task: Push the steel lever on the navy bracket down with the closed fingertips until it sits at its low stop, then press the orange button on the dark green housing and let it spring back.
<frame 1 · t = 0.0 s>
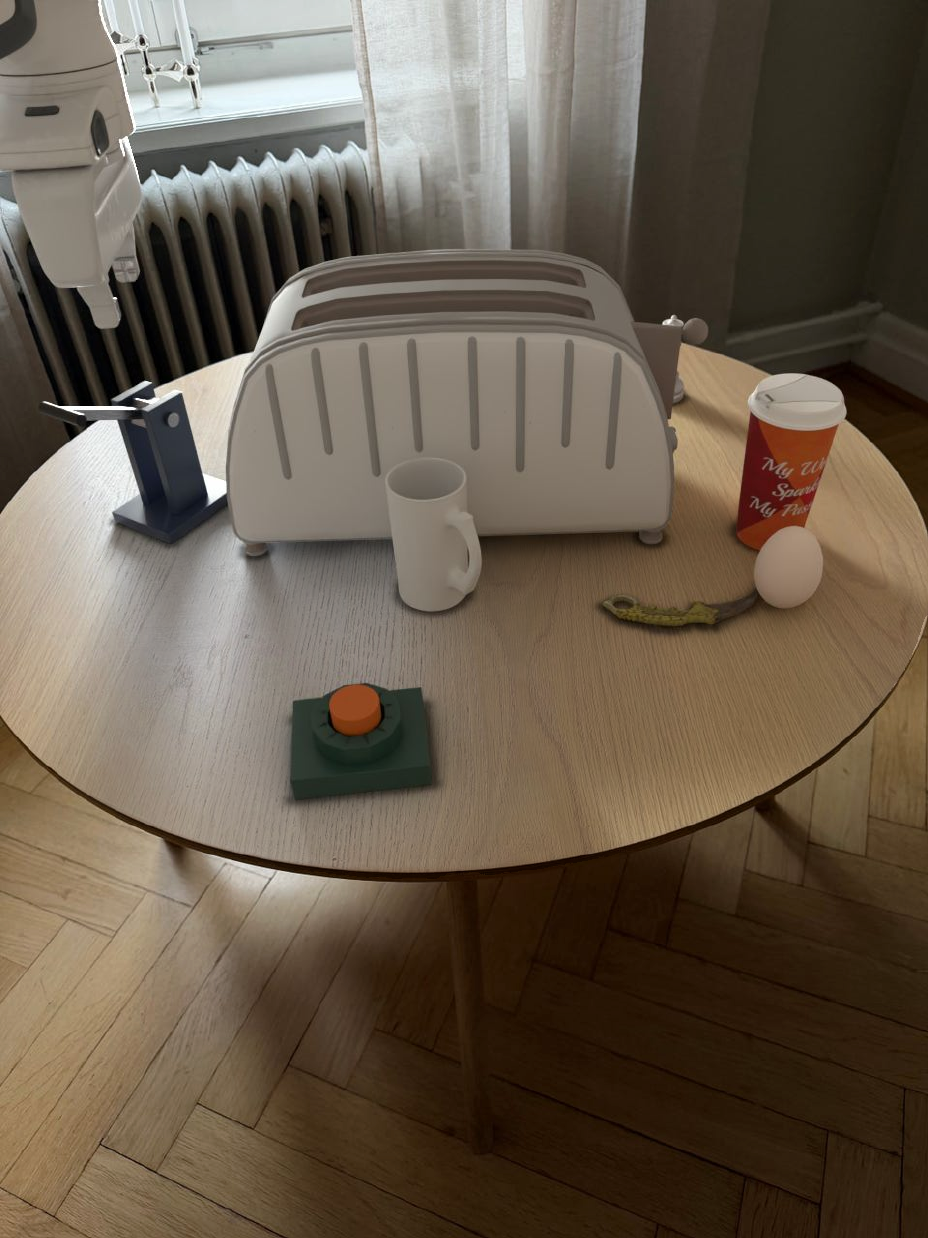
hand: (120, 300, 74), 25 cm above the table, tool pointing down, fingers open, 8 cm apart
bracket: (178, 508, 96), on the table
button box: (361, 750, 70), on the table
coffee cup: (767, 535, 89), on the table
toaster: (467, 499, 96), on the table
chess piece: (664, 397, 111), on the table
lever: (112, 413, 85), point 13 cm above the table, hinge at 25.0°
egg: (779, 604, 81), on the table
mug: (444, 600, 83), on the table
knife: (687, 611, 81), on the table
button: (355, 710, 67), point 4 cm above the table, slide at 0.1 cm
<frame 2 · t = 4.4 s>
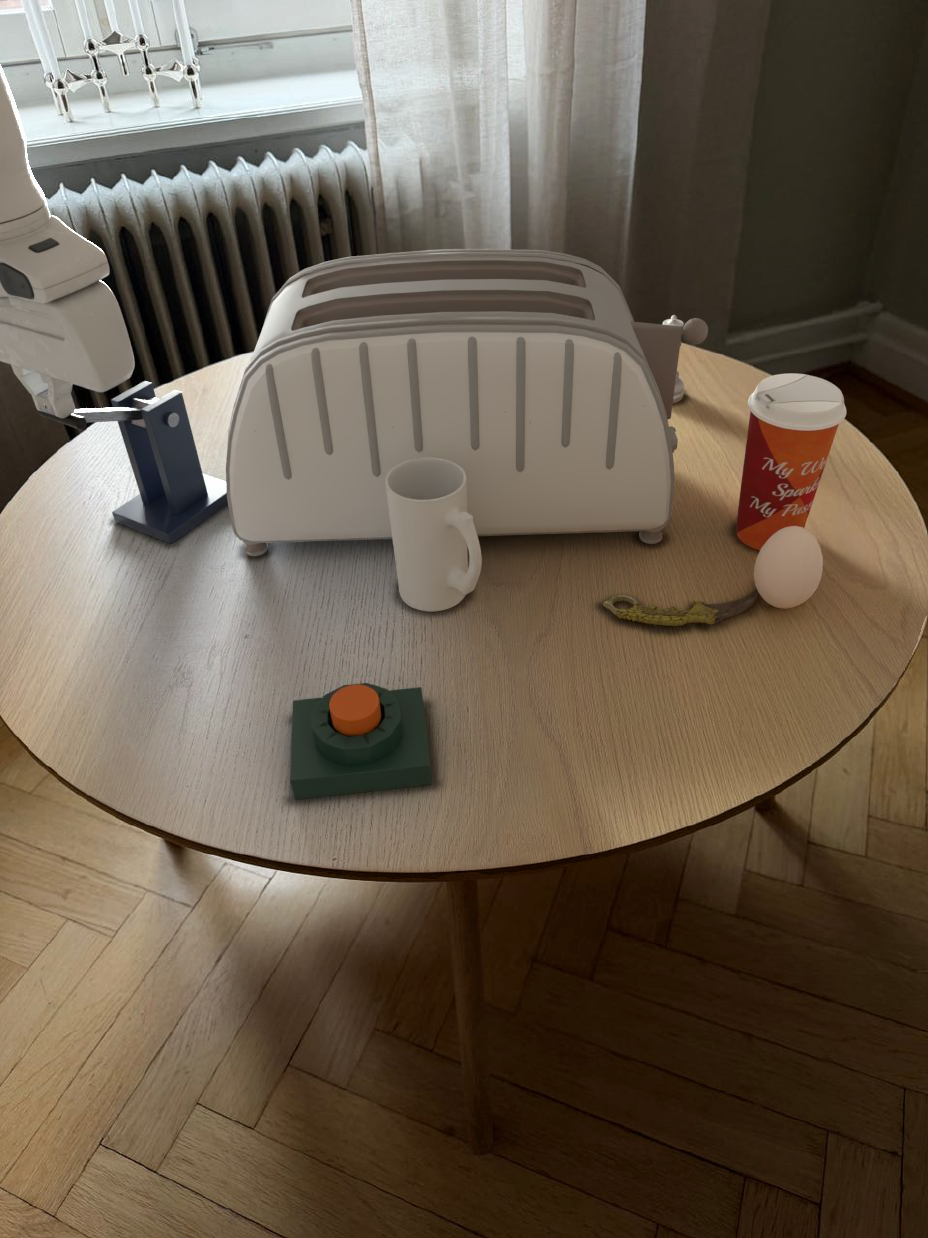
hand: (57, 412, 80), 16 cm above the table, tool pointing down, fingers closed
lever: (112, 414, 85), point 13 cm above the table, hinge at 23.5°, touching gripper
everything else where it was.
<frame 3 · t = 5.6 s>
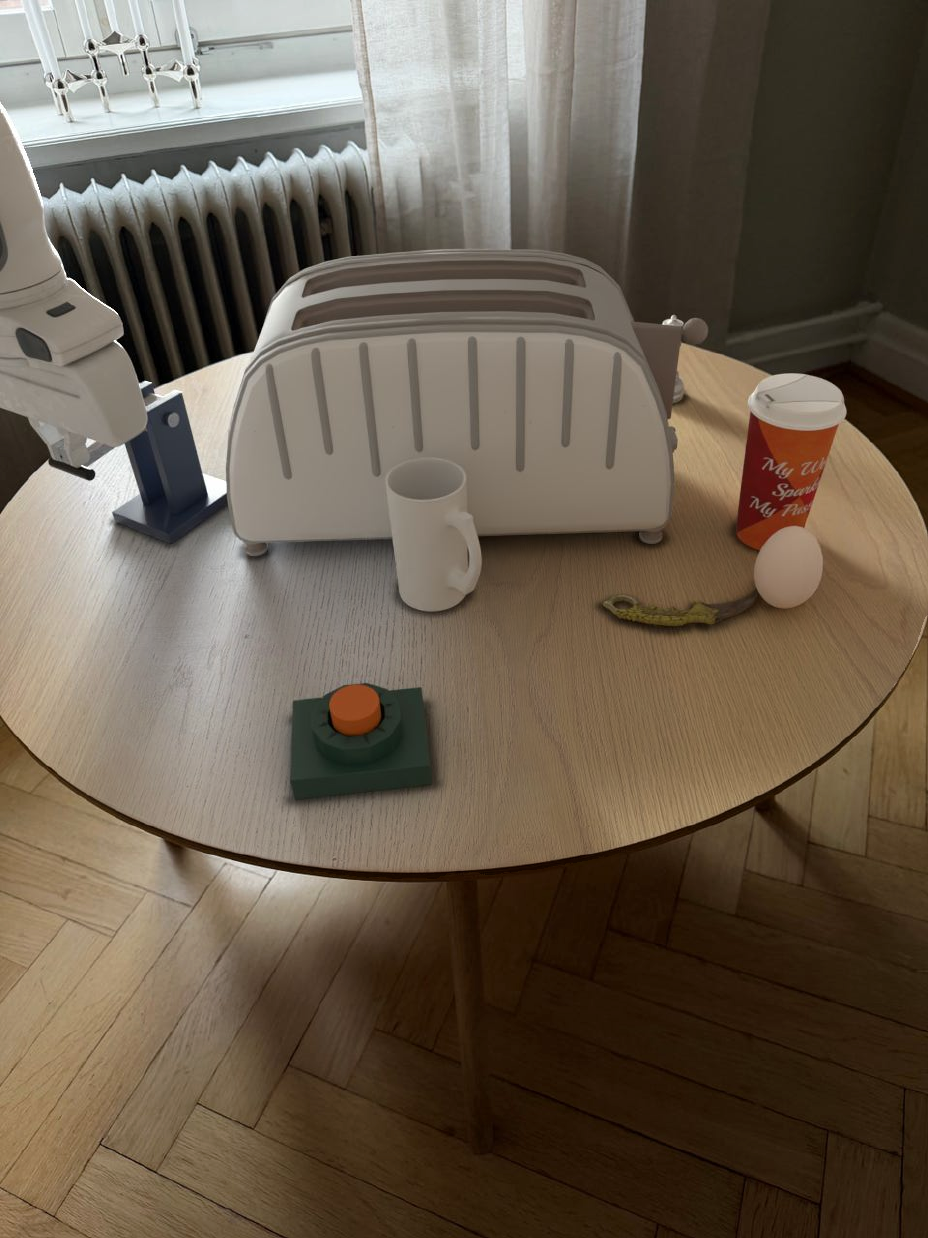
hand: (72, 460, 82), 11 cm above the table, tool pointing down, fingers closed, pressing on lever
lever: (116, 437, 86), point 11 cm above the table, hinge at -4.2°, touching gripper
everything else where it was.
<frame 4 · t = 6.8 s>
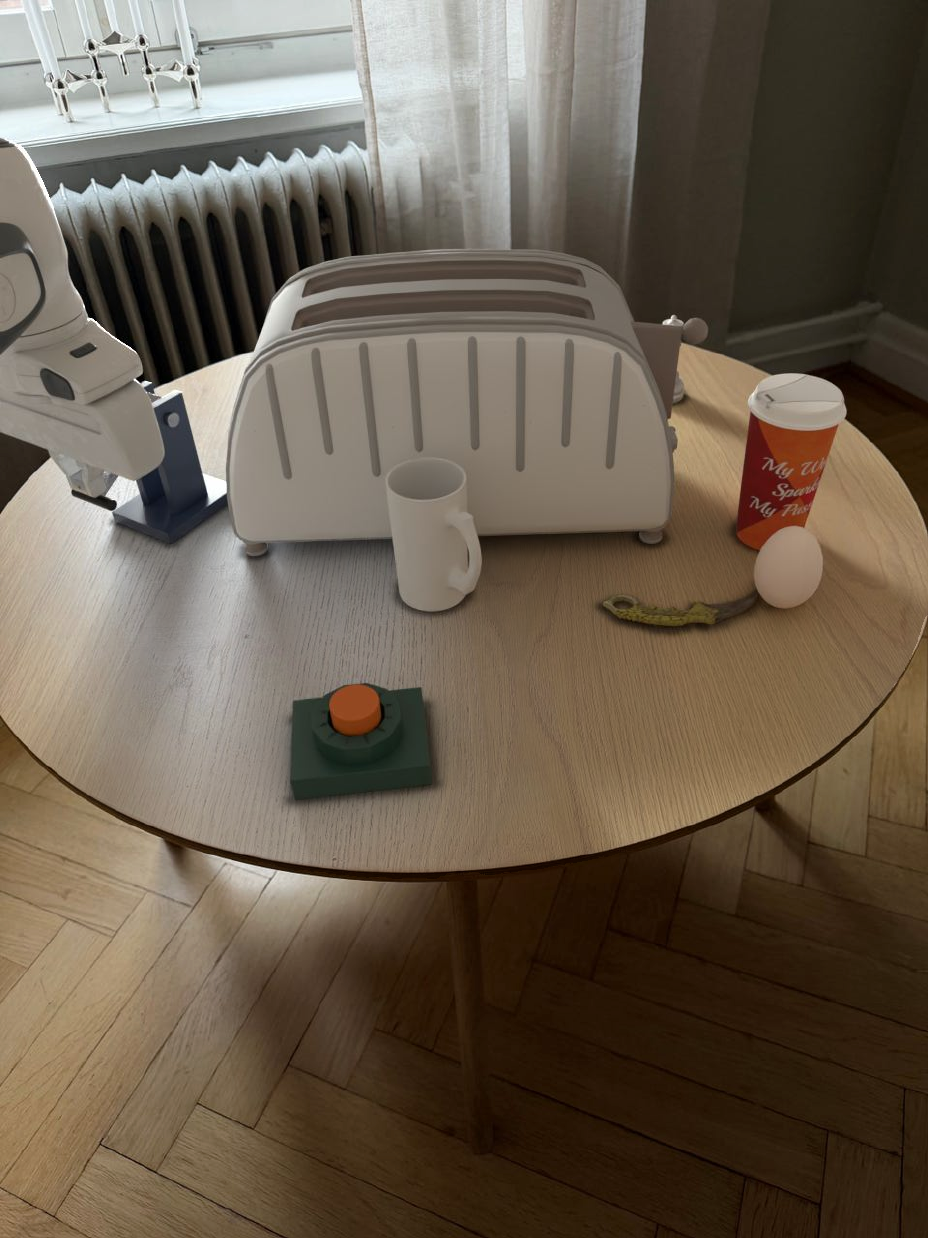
hand: (89, 490, 85), 7 cm above the table, tool pointing down, fingers closed, pressing on lever
lever: (125, 451, 87), point 9 cm above the table, hinge at -27.4°, touching gripper
everything else where it was.
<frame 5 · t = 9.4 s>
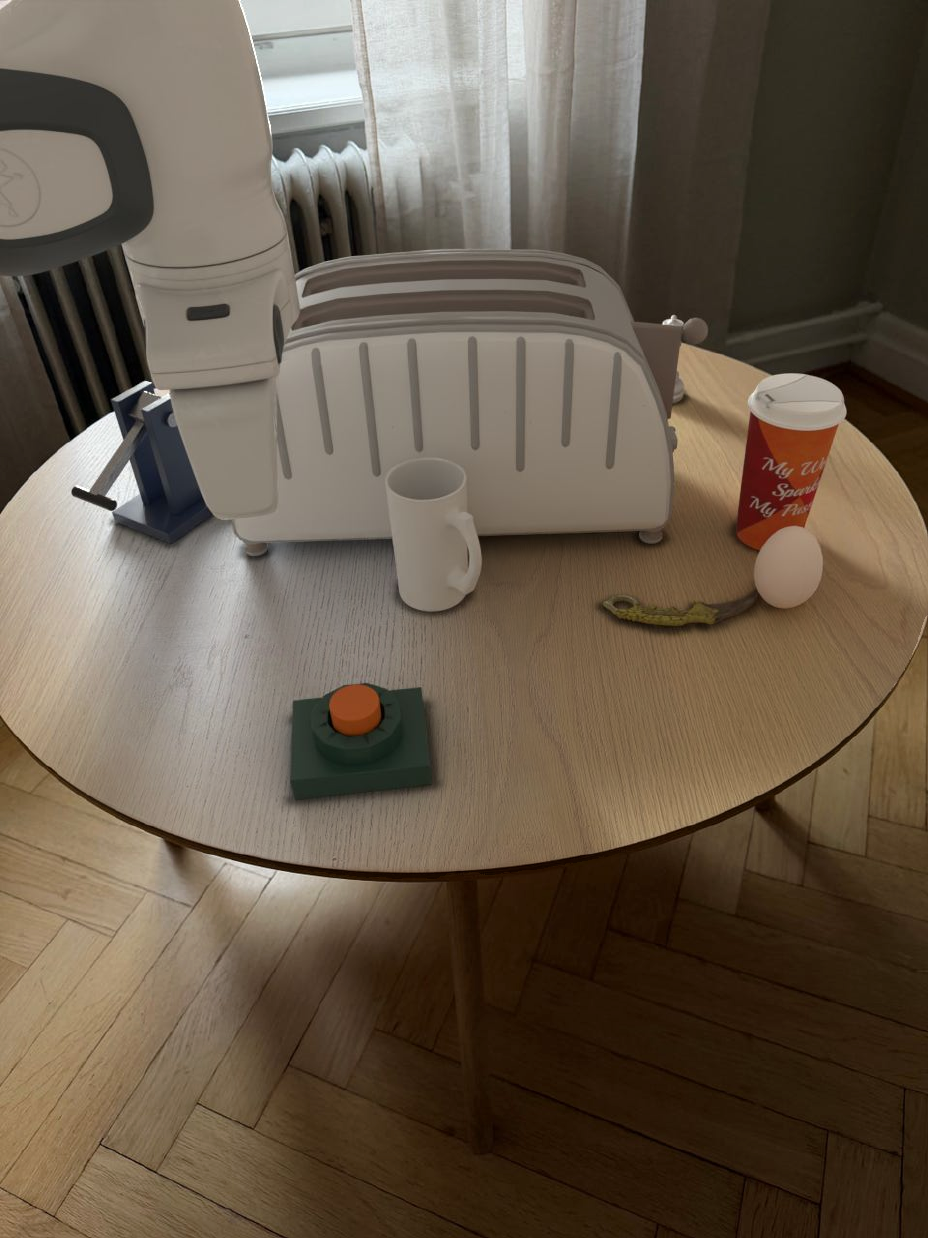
hand: (263, 497, 61), 20 cm above the table, tool pointing down, fingers closed
lever: (125, 451, 87), point 9 cm above the table, hinge at -27.5°
everything else where it was.
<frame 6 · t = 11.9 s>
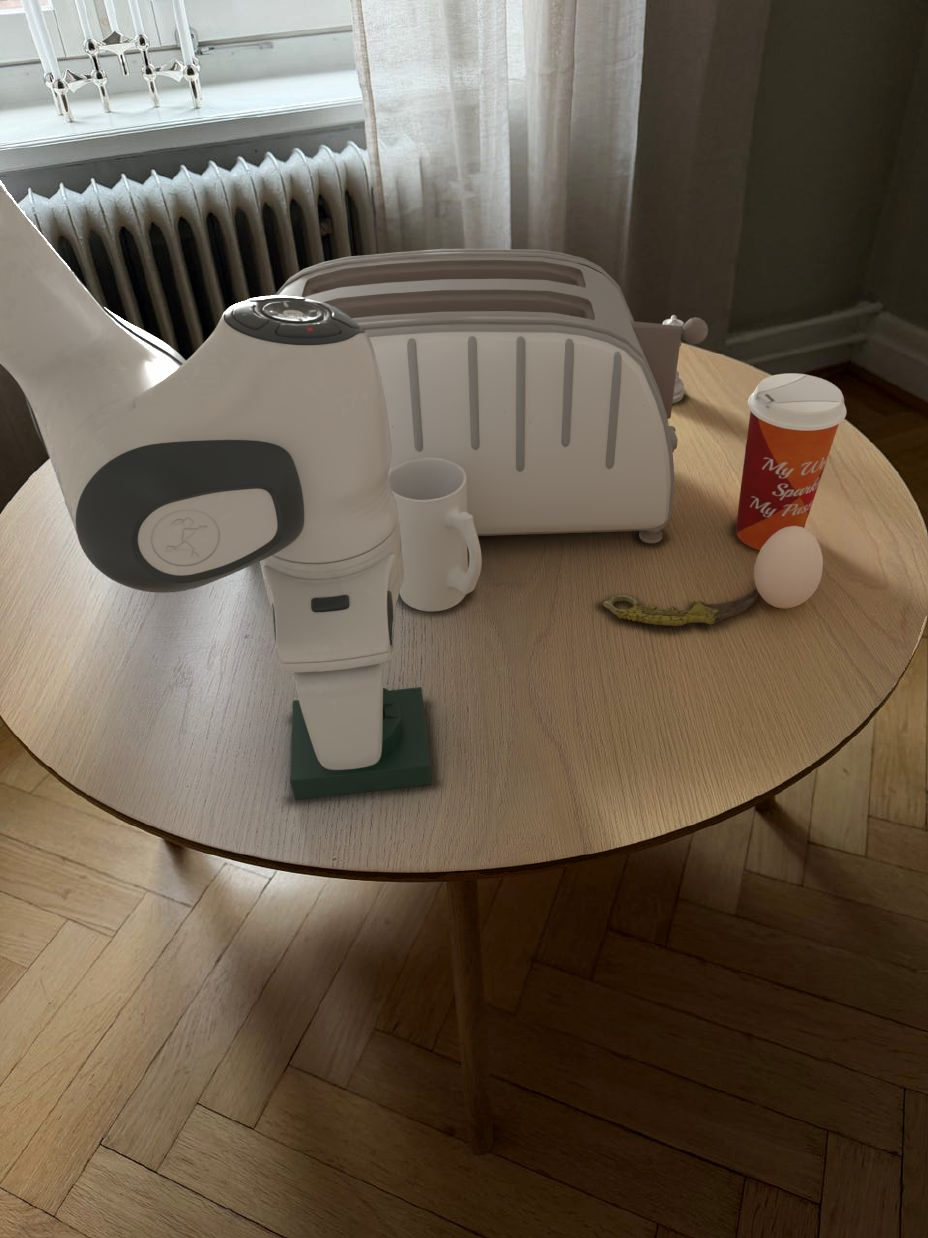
hand: (357, 710, 67), 5 cm above the table, tool pointing down, fingers closed, pressing on button
button: (356, 718, 67), point 4 cm above the table, slide at -0.7 cm, touching gripper
everything else where it was.
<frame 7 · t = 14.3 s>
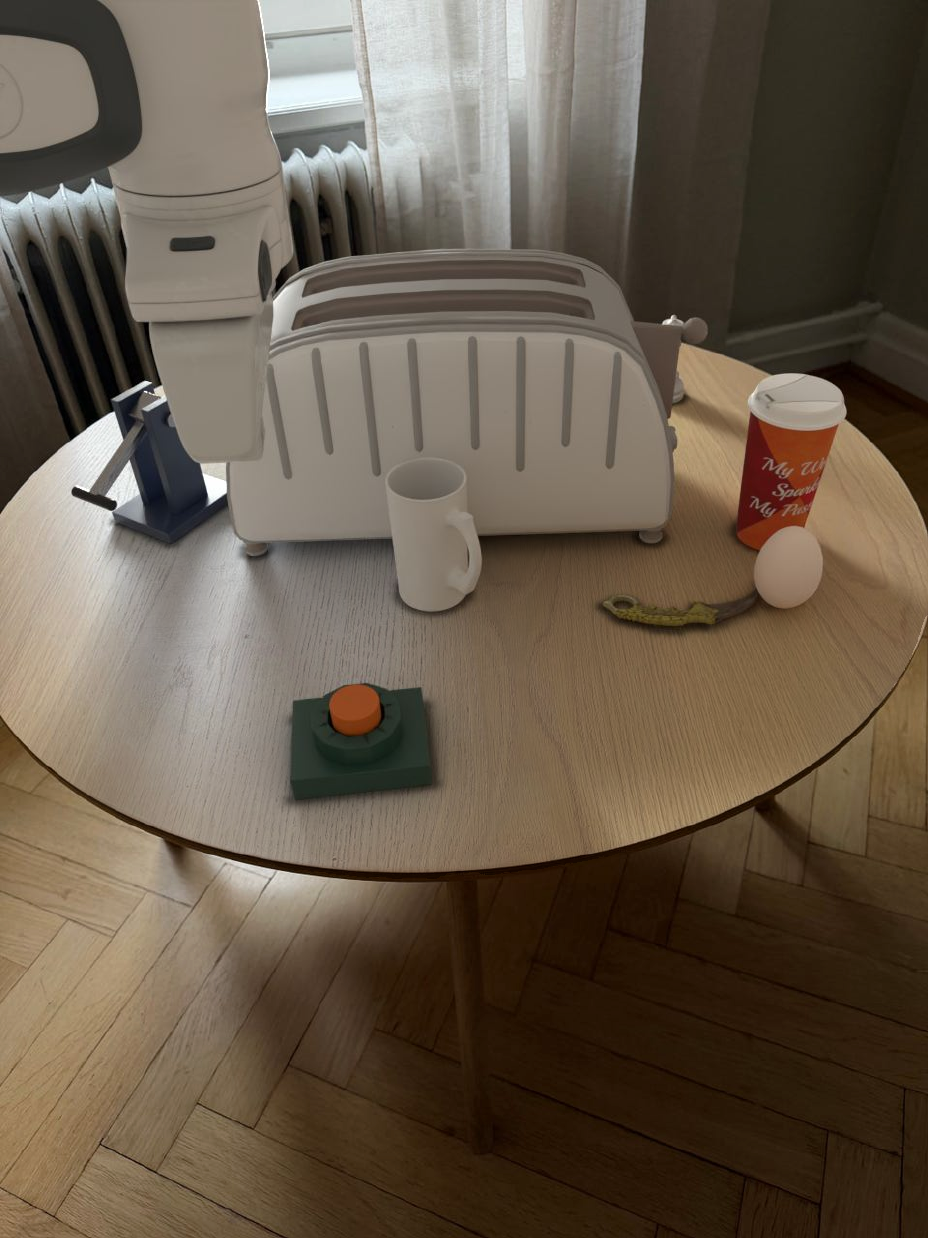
hand: (251, 449, 59), 23 cm above the table, tool pointing down, fingers closed
button: (355, 710, 67), point 4 cm above the table, slide at 0.1 cm
everything else where it was.
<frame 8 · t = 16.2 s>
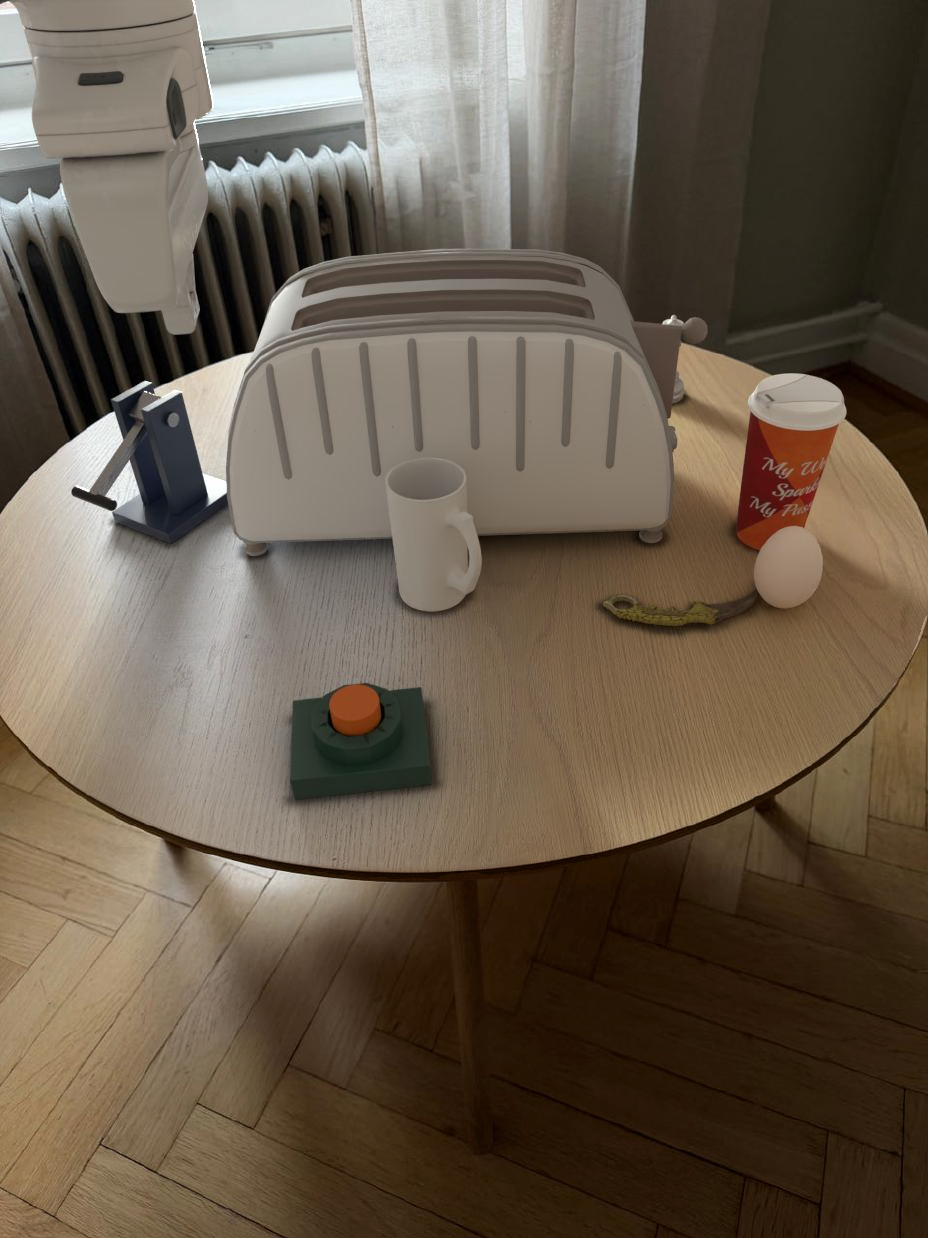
hand: (184, 325, 59), 29 cm above the table, tool pointing down, fingers closed
nothing on the table moved.
at the end: lever at -28° (first picture: +25°); button pushed in 1.1 cm at the most during the clip, back to where it started at the end; button slide at 0.1 cm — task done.
